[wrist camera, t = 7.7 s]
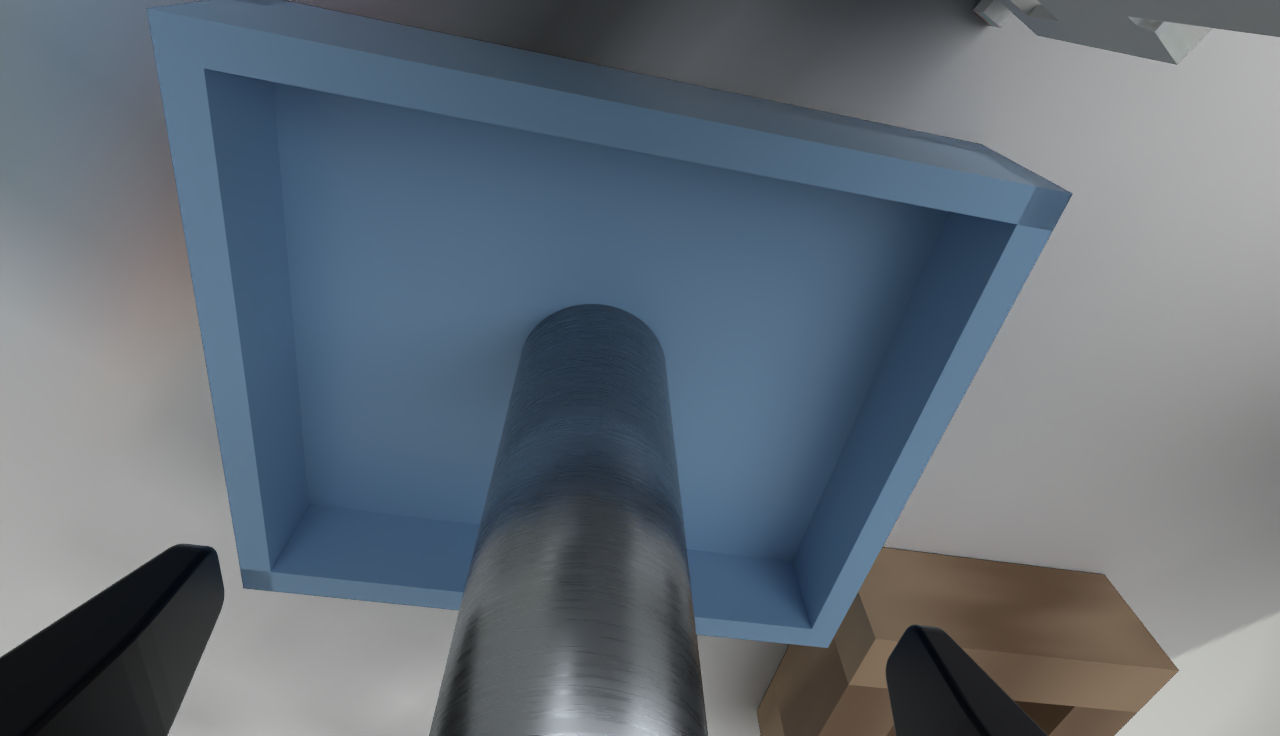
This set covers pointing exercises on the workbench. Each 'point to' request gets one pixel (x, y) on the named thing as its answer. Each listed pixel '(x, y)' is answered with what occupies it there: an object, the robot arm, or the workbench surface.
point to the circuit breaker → (1136, 22)
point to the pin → (580, 550)
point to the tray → (567, 297)
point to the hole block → (976, 647)
